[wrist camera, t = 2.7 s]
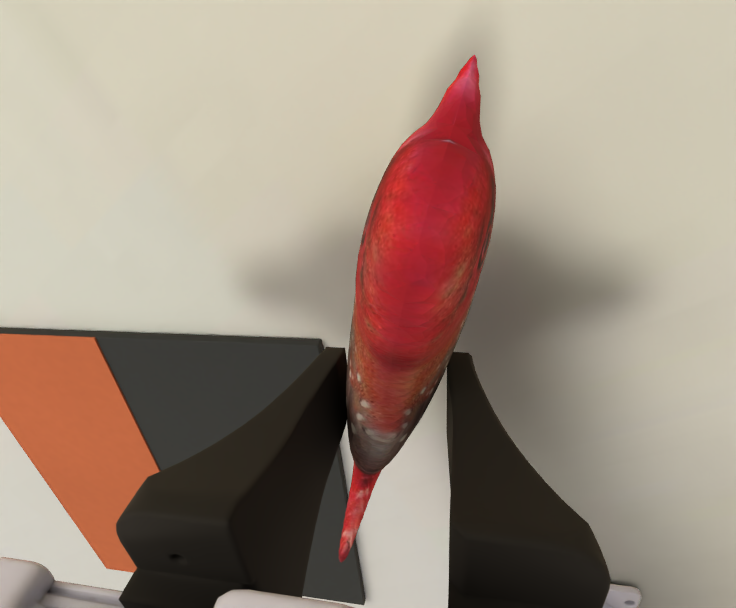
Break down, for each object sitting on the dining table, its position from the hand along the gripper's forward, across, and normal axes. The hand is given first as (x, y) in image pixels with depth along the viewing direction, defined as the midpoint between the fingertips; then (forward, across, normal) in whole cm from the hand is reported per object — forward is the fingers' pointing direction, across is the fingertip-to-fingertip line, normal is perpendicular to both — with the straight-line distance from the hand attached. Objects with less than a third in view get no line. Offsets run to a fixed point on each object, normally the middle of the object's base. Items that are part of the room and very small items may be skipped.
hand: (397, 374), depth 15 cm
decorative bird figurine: (+5, 0, 0) cm, 5 cm away
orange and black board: (+4, +14, +13) cm, 20 cm away
